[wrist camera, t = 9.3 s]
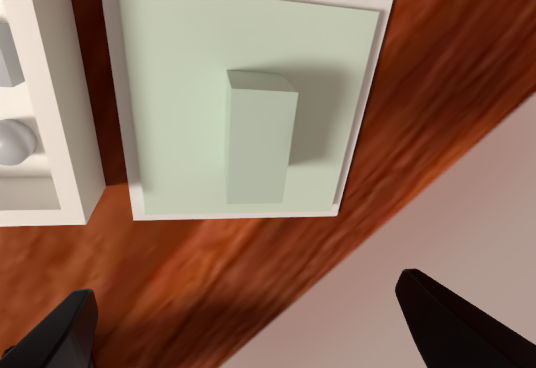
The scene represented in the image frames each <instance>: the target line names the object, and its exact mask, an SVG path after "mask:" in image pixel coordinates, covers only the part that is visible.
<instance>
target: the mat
mask: <svg viewBox="0 0 536 368" xmlns="http://www.w3.org/2000/svg"><path fill="white" fill-rule="evenodd" d="M282 1H291V2H299V3H308V4H316V5H325V6H333V7H342V8H350V9H359V10H367V11H376V12H379V16H378V20H377V24H376V28H375V32H374V36H373V40H372V45H371V49H370V53H369V57H368V61H367V65H366V69H365V73H364V77H363V81H362V85H361V90H360V94H359V98H358V102H357V106H356V110H355V114H354V118H353V122H352V126H351V131H350V135H349V139H348V143H347V147H346V151H345V155H344V159H343V163H342V167H341V171H340V176H339V180H338V184H337V188H336V192H335V196H334V200H333V204H332V208H331V211H316V212H266V213H216V214H165V215H145V208H144V200H143V192H142V183H141V175H140V167H139V159H138V150H137V142H136V134H135V126H134V117H133V109H132V101H131V92H130V84H129V76H128V68H127V59H126V51H125V43H124V35H123V26H122V18H121V10H120V2H119V0H102V4H103V11H104V18H105V25H106V32H107V39H108V46H109V53H110V60H111V67H112V74H113V81H114V88H115V94H116V101H117V108H118V115H119V122H120V129H121V136H122V143H123V150H124V157H125V164H126V171H127V178H128V185H129V192H130V199H131V206H132V213H133V220H174V219H220V218H266V217H311V216H337V213H338V210H339V206H340V202H341V198H342V194H343V190H344V186H345V183H346V179H347V175H348V171H349V167H350V163H351V160H352V156H353V152H354V148H355V144H356V140H357V137H358V133H359V129H360V125H361V121H362V117H363V113H364V110H365V106H366V102H367V98H368V94H369V90H370V87H371V83H372V79H373V75H374V71H375V67H376V63H377V60H378V56H379V52H380V48H381V44H382V40H383V37H384V33H385V29H386V25H387V21H388V17H389V14H390V10H391V6H392V2H393V0H282Z"/></svg>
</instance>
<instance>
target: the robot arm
mask: <svg viewBox="0 0 536 368" xmlns="http://www.w3.org/2000/svg"><path fill="white" fill-rule="evenodd" d="M395 293H396V296H397V299H398V301H399V304H400V306H401V309H402V311H403V314H404V317H405V319H406V322H407V324H408V327H409V330H410V332H411V334H412V337H413V339H414V342H415V344H416V346H417V348H418V350H419V352H420V354H421V356H422V358H423V360H424V362H425V364H426V366H427V368H536V345H535V344H533V343H532V342H530V341H528V340H527V339H525V338H524V337H522V336H521V335H519V334H518V333H516V332H514V331H513V330H511V329H510V328H508V327H507V326H505V325H504V324H502V323H501V322H499V321H497V320H496V319H494V318H493V317H491V316H490V315H488V314H487V313H485V312H483V311H482V310H480V309H479V308H477V307H476V306H474V305H473V304H471V303H469V302H468V301H466V300H465V299H463V298H462V297H460V296H458V295H457V294H455V293H454V292H452V291H451V290H449V289H448V288H446V287H445V286H443V285H441V284H440V283H438V282H437V281H435V280H434V279H432V278H431V277H429V276H427V275H426V274H424V273H423V272H421V271H420V270H418V269H405V270H403V271H402V273H401V275H400V277H399V280H398V282H397V284H396V287H395ZM97 320H98V307H97V303H96V299H95V295H94V292H93V290H92V289H77V290H74V291H73V292H71V293H70V294H69V295H68V296H67V297H66V298H65V299H64V300H63V301H62V302H61V303H60V304H59V305H58V306H57V307H55V308H54V309H53V310H52V311H51V312H50V313H49V314H48V315H47V316H46V317H45V318H44V319H43V320H42V321H41V322H40V323H39V324H38V325H37V326H35V327H34V328H33V329H32V330H31V331H30V332H29V333H28V334H27V335H26V336H25V337H24V338H23V339H22V340H21V341H20V342H19V343H18V344H17V345H15V346H14V347H13V348H12V349H7V350H5V351H4V353H3V355H2V359H1V360H0V368H96V367H95V364H94V360H93V357H92V354H91V349H92V344H93V339H94V334H95V330H96V325H97Z"/></svg>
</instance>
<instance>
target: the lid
mask: <svg viewBox="0 0 536 368" xmlns="http://www.w3.org/2000/svg"><path fill="white" fill-rule="evenodd" d="M119 2H120V10H121V18H122V26H123V35H124V43H125V51H126V59H127V68H128V76H129V84H130V92H131V101H132V109H133V117H134V126H135V134H136V142H137V150H138V159H139V167H140V175H141V183H142V192H143V200H144V208H145V215H165V214H216V213H266V212H316V211H331V208H332V204H333V200H334V196H335V192H336V188H337V184H338V180H339V176H340V171H341V167H342V163H343V159H344V155H345V151H346V147H347V143H348V139H349V135H350V131H351V126H352V122H353V118H354V114H355V110H356V106H357V102H358V98H359V94H360V90H361V85H362V81H363V77H364V73H365V69H366V65H367V61H368V57H369V53H370V49H371V45H372V40H373V36H374V32H375V28H376V24H377V20H378V16H379V12H376V11H367V10H359V9H350V8H342V7H333V6H325V5H316V4H308V3H299V2H291V1H282V0H119Z"/></svg>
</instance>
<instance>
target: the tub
mask: <svg viewBox="0 0 536 368" xmlns="http://www.w3.org/2000/svg"><path fill="white" fill-rule="evenodd" d="M105 187H106V184H105V179H104V174H103V168H102V163H101V157H100V152H99V147H98V141H97V136H96V131H95V125H94V120H93V115H92V109H91V104H90V99H89V93H88V88H87V83H86V77H85V72H84V66H83V61H82V56H81V50H80V45H79V40H78V34H77V29H76V24H75V18H74V13H73V8H72V2H71V0H0V226H39V225H81V224H87V222H88V220H89V218H90V216H91V214H92V212H93V210H94V208H95V206H96V204H97V203H98V201H99V199H100V197H101V195H102V193H103V191H104V189H105Z"/></svg>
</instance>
